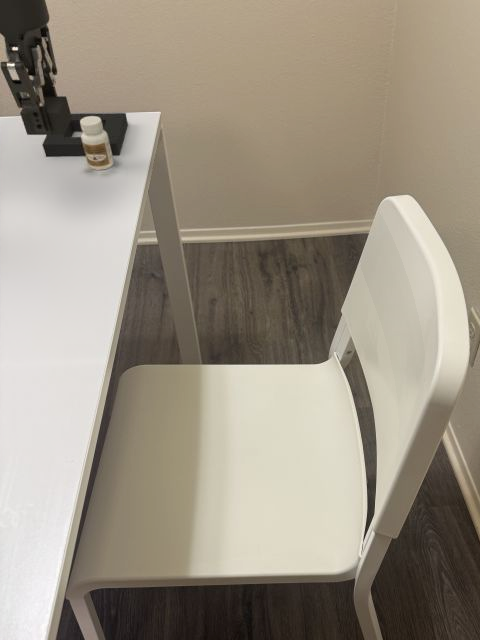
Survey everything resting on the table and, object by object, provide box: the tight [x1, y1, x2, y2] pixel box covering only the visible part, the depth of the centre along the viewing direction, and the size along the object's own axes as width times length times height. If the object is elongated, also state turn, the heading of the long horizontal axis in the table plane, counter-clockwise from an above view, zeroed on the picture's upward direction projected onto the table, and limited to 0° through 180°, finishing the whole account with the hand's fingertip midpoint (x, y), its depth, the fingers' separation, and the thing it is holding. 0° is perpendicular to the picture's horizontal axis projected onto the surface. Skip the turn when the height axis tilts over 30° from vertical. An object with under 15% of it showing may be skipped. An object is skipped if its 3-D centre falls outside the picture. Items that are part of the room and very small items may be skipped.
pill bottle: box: [80, 116, 115, 171], centre depth 104 cm, size 4×4×8 cm
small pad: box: [19, 95, 72, 136], centre depth 83 cm, size 5×5×3 cm
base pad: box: [41, 112, 129, 157], centre depth 112 cm, size 13×12×2 cm
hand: (49, 123), depth 84 cm, fingers closed on small pad, 5 cm apart
